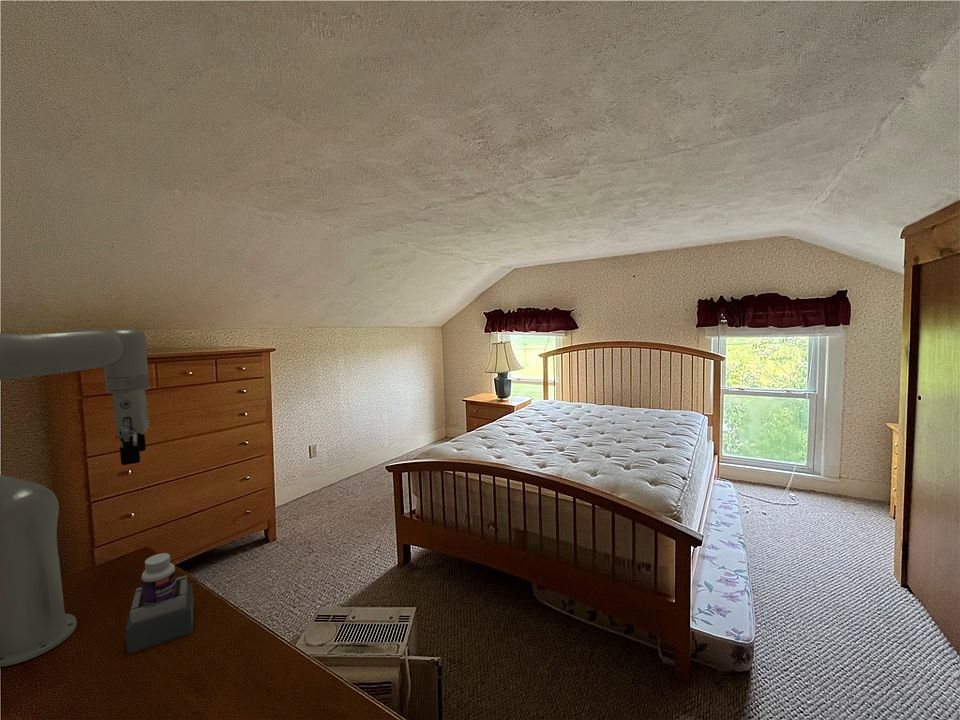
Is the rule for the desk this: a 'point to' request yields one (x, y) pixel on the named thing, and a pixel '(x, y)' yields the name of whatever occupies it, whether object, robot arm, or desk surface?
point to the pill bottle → (158, 579)
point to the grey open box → (160, 618)
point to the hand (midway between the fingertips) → (134, 457)
